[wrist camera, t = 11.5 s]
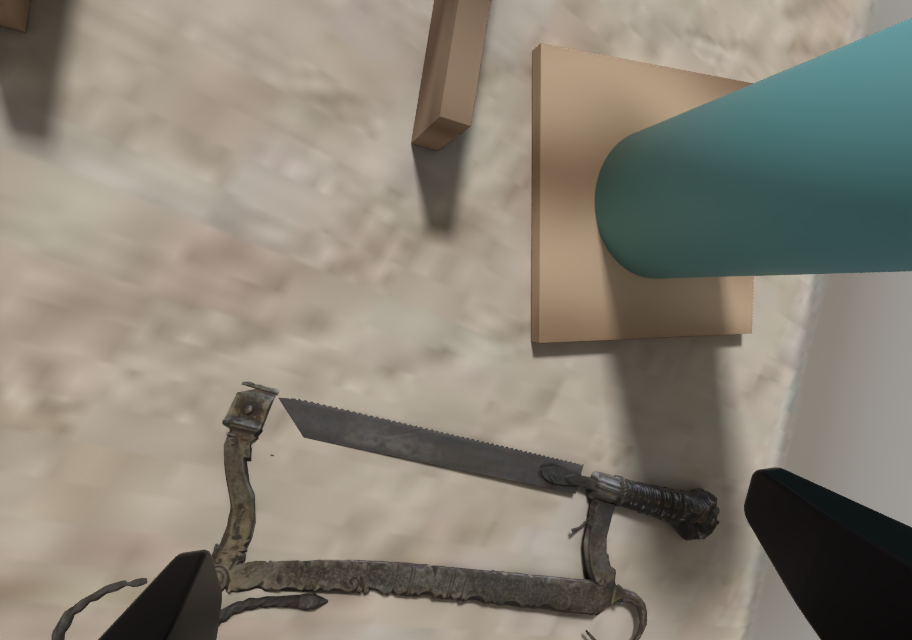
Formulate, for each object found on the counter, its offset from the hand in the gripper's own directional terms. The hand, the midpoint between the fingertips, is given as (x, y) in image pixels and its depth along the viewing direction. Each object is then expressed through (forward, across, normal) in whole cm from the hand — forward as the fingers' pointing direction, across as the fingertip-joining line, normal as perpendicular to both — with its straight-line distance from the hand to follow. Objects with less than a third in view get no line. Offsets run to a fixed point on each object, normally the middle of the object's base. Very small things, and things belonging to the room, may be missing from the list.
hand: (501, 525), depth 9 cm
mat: (+14, -10, -2) cm, 17 cm away
